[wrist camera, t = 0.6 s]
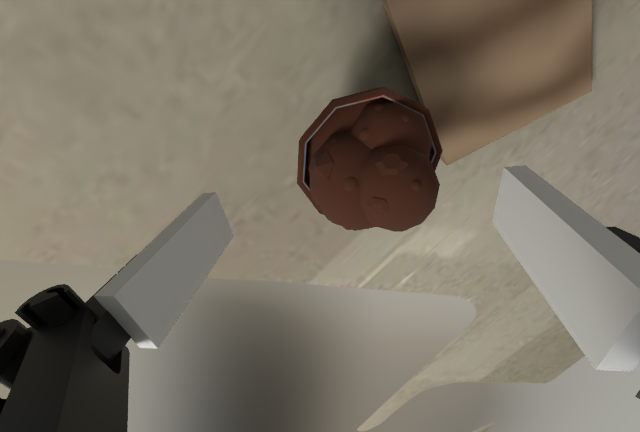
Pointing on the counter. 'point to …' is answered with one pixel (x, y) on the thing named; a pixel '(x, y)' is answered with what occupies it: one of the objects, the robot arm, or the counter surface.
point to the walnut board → (492, 63)
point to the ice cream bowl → (371, 161)
